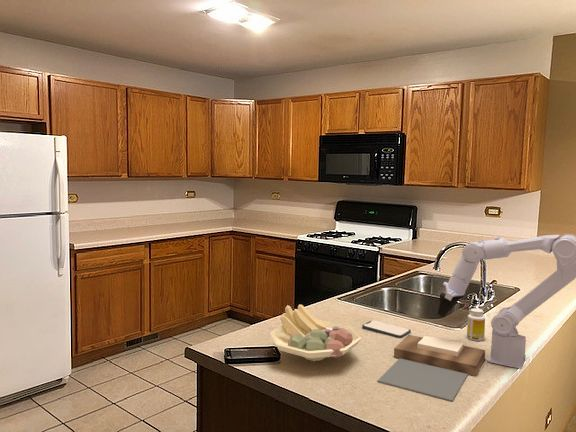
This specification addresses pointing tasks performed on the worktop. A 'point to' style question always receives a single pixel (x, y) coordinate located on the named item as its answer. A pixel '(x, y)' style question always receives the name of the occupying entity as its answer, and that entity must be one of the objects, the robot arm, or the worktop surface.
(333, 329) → the dish with food
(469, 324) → the supplement bottle
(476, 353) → the brown wooden flat block
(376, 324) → the phone case
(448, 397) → the mat
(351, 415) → the worktop surface
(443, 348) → the cream flat block
